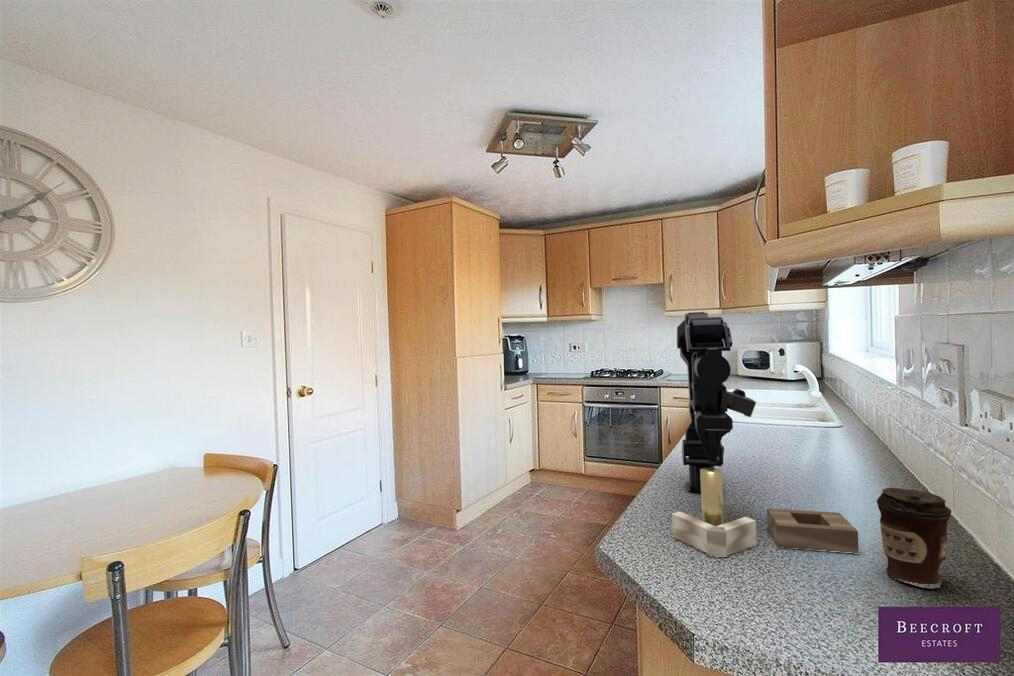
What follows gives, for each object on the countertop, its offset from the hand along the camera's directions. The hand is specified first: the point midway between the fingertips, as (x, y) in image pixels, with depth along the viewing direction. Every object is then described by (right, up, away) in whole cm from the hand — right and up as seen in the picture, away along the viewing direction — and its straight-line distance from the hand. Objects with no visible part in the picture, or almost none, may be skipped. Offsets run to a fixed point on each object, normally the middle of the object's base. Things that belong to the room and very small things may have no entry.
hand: (709, 455), depth 96 cm
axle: (-3, -13, -9) cm, 17 cm away
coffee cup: (+20, -13, -24) cm, 34 cm away
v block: (-4, -13, -12) cm, 18 cm away
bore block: (+13, -13, -11) cm, 21 cm away
